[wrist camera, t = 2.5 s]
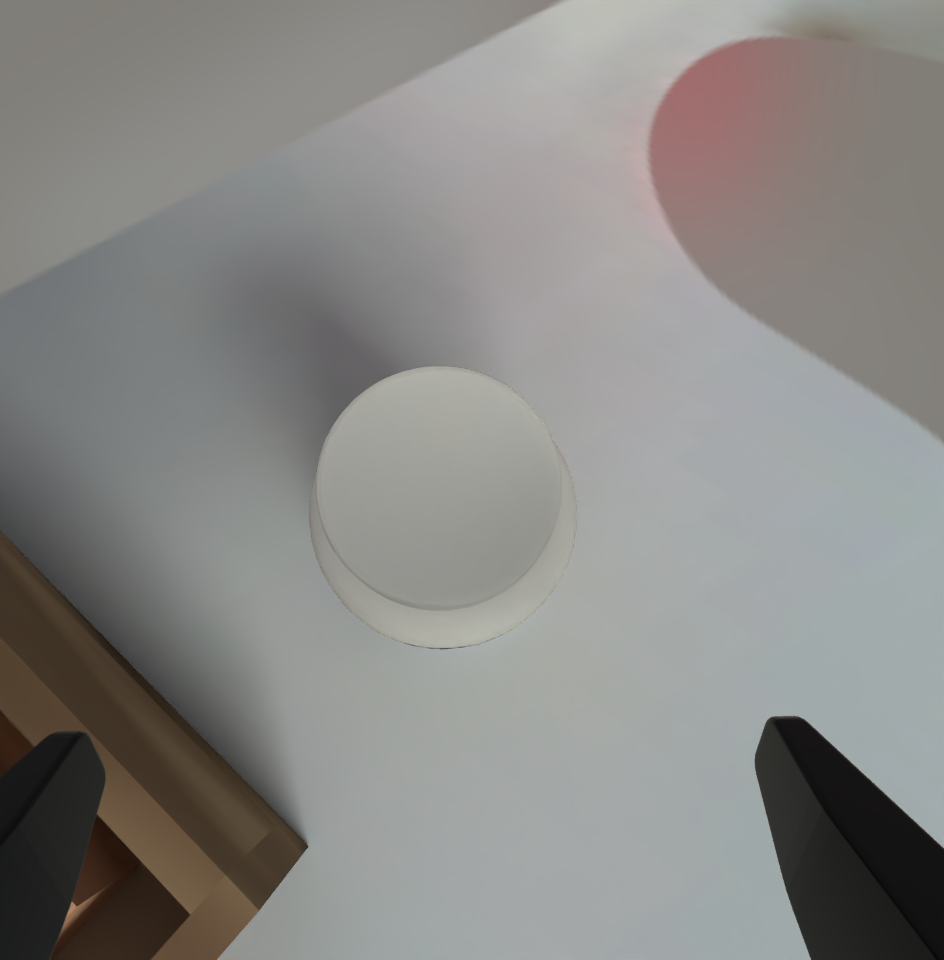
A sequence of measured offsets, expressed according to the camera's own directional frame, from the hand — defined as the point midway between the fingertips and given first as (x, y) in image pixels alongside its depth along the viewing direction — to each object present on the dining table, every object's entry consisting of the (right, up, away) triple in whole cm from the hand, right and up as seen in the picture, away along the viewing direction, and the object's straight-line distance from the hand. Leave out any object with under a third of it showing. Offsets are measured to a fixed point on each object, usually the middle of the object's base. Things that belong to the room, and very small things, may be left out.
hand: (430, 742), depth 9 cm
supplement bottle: (0, +1, +12) cm, 12 cm away
